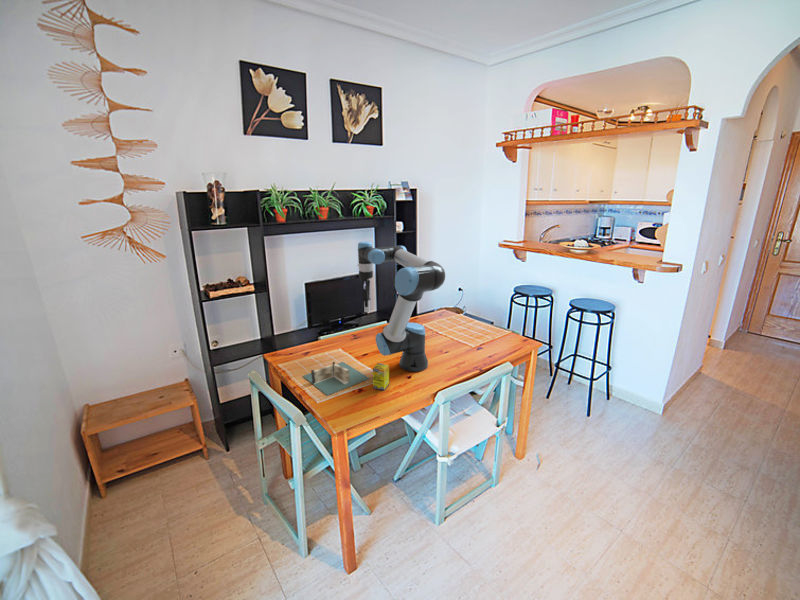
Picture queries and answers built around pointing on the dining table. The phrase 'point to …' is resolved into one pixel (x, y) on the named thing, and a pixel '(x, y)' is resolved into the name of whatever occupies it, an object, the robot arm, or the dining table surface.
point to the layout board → (338, 380)
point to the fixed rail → (322, 374)
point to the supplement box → (380, 376)
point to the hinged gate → (341, 372)
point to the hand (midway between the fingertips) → (366, 311)
